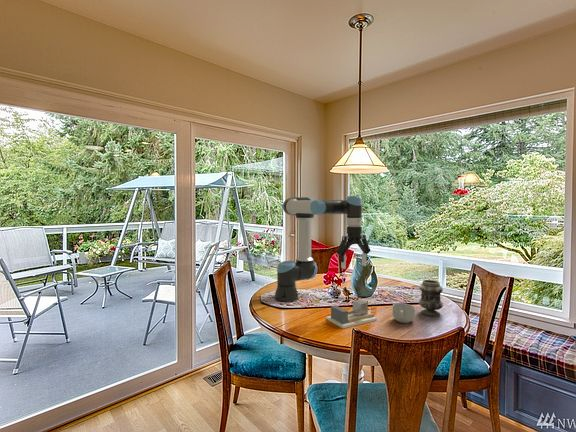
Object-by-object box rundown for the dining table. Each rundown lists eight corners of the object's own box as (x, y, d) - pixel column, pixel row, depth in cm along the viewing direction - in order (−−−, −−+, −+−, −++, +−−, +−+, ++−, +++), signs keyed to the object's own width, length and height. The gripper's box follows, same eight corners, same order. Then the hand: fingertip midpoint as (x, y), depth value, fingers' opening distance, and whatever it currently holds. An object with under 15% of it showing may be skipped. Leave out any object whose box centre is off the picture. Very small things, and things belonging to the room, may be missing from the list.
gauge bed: (326, 318, 162) (326, 305, 161) (358, 311, 172) (358, 299, 172) (343, 328, 149) (343, 313, 149) (376, 320, 160) (376, 306, 160)
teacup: (396, 315, 166) (397, 301, 166) (417, 320, 159) (417, 305, 159) (387, 323, 156) (387, 307, 155) (408, 329, 149) (409, 312, 148)
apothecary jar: (440, 310, 173) (440, 279, 173) (444, 318, 162) (445, 284, 161) (417, 308, 177) (417, 277, 176) (420, 316, 165) (420, 283, 164)
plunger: (352, 313, 165) (352, 300, 165) (359, 312, 167) (360, 299, 167) (366, 320, 156) (366, 306, 156) (373, 318, 158) (373, 305, 158)
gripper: (339, 227, 149) (339, 271, 150) (377, 225, 160) (377, 265, 161) (330, 226, 155) (329, 268, 156) (367, 224, 167) (367, 263, 168)
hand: (353, 267), depth 159 cm, fingers open, 13 cm apart
